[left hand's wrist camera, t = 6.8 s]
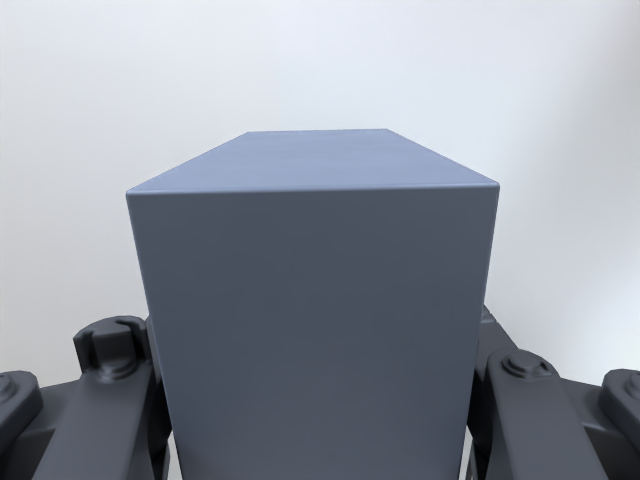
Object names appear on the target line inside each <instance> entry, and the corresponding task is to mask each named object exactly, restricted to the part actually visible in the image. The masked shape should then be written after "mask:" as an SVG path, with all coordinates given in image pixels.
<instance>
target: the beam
mask: <svg viewBox="0 0 640 480" xmlns="http://www.w3.org/2000/svg"><path fill="white" fill-rule="evenodd" d="M499 191H500V186H499V183H498V182H496V181H493V180H491V179H489V178H487V177H485V176H483V175H481V174H479V173H477V172H475V171H473V170H471V169H469V168H467V167H465V166H463V165H460V164H458V163H456V162H454V161H452V160H450V159H448V158H446V157H444V156H442V155H440V154H438V153H436V152H434V151H432V150H429V149H427V148H425V147H423V146H421V145H419V144H417V143H415V142H413V141H411V140H409V139H407V138H405V137H403V136H401V135H398V134H396V133H394V132H392V131H390V130H388V129H356V130H312V131H267V132H247V133H245V134H243V135H241V136H239V137H237V138H235V139H233V140H230V141H228V142H226V143H224V144H222V145H220V146H218V147H216V148H214V149H212V150H210V151H208V152H206V153H204V154H202V155H200V156H198V157H196V158H194V159H191V160H189V161H187V162H185V163H183V164H181V165H179V166H177V167H175V168H173V169H171V170H169V171H167V172H165V173H163V174H161V175H159V176H157V177H154V178H152V179H150V180H148V181H146V182H144V183H142V184H140V185H138V186H136V187H134V188H132V189H130V190H128V191H127V192H126V200H127V205H128V210H129V215H130V220H131V225H132V230H133V235H134V240H135V245H136V250H137V255H138V260H139V265H140V270H141V275H142V280H143V285H144V290H145V295H146V300H147V305H148V310H149V315H150V320H151V325H152V330H153V335H154V340H155V345H156V350H157V355H158V360H159V365H160V370H161V375H162V380H163V385H164V390H165V395H166V400H167V405H168V410H169V415H170V420H171V425H172V430H173V435H174V440H175V445H176V450H177V455H178V460H179V465H180V470H181V475H182V479H183V480H459V474H460V467H461V460H462V453H463V446H464V439H465V432H466V424H467V417H468V410H469V403H470V396H471V389H472V382H473V375H474V368H475V361H476V354H477V347H478V339H479V332H480V325H481V318H482V311H483V304H484V297H485V290H486V283H487V276H488V269H489V262H490V254H491V247H492V240H493V233H494V226H495V219H496V212H497V205H498V198H499Z"/></svg>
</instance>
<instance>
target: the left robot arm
mask: <svg viewBox="0 0 640 480" xmlns="http://www.w3.org/2000/svg"><path fill="white" fill-rule="evenodd" d="M73 341H74V345H75V348H76V352H77V356H78V360H79V363H80V367H81V371H82V375H81V377H80V379H79V380H76V381H72V382H68V383H63V384H58V385H53V386H48V387H44V388H39V384H38V381H37V378H36V376H34V375H33V374H32V373H31V372H26V371H20V370H19V371H11V372H4V373H0V480H167V479H168V471H169V462H170V451H169V445H168V438H169V436H170V433H171V431H172V425H171V420H170V415H169V410H168V405H167V400H166V395H165V390H164V385H163V380H162V375H161V370H160V365H159V360H158V355H157V350H156V345H155V340H154V335H153V330H152V325H151V320H150V315H149V316H148V318H147V319H146V320H145V321H144V320H142V319H141V318H139V317H134V316H115V317H111V318H106V319H103V320H100V321H97V322H95V323H92V324H90V325H88V326H87V327H85V328H84V329H82V330H80V331H79V332H78V333H77V334H76V335H75V337H74V338H73ZM467 426H468V428H469V431H470V433H471V435H472V437H473V440H472V445H471V451H470V456H469V461H468V467H467V472H466V479H465V480H471V478H473V480H640V371H636V370H628V369H617V370H611V371H609V372H608V373H607V374H606V375H605V376H604V380H603V383H602V386H601V387H600V386H596V385H591V384H586V383H581V382H576V381H571V380H567V379H564V378H560V376H559V374H558V372H557V371H556V370H555V368H554V367H553V366H552V365H551V364H550V363H549V362H547V361H546V360H545V359H543V358H542V357H540V356H538V355H535V354H533V353H531V352H529V351H525V350H521V349H518V348H517V346H516V345H515V344H514V342H513V341H512V340H511V339H510V337H509V336H508V335H507V333H506V332H505V331H504V330H503V328H502V327H501V326H500V324H499V323H497V322H496V319H495V318H494V317H493V315H492V314H490V312H489V310H488V309H487V308H486V306H485V305H484V304H483V311H482V318H481V325H480V332H479V339H478V347H477V354H476V361H475V368H474V375H473V382H472V389H471V396H470V403H469V410H468V417H467Z"/></svg>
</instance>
